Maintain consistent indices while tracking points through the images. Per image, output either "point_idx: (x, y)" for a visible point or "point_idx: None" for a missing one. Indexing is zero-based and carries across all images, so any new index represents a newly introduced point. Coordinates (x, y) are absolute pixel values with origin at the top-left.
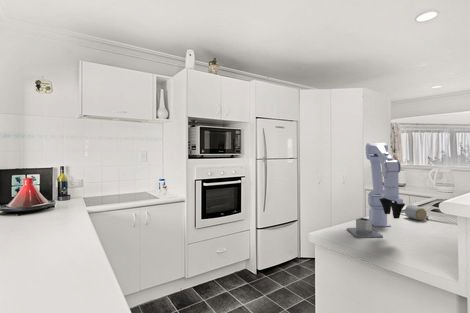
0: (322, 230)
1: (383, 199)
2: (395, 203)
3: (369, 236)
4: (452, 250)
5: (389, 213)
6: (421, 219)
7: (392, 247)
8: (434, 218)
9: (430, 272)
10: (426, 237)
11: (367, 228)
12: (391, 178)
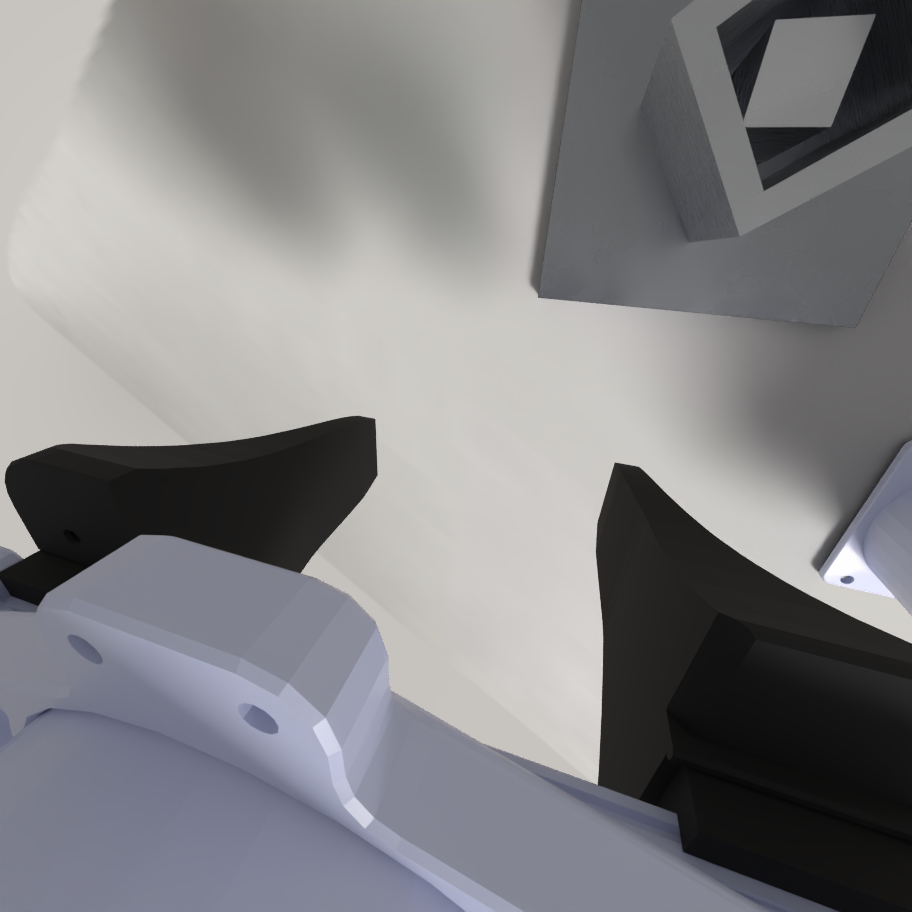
0: None
1: (736, 728)
2: (30, 527)
3: (564, 127)
4: None
5: (600, 524)
6: None
7: (312, 230)
8: None
9: (20, 224)
10: (490, 586)
11: (665, 127)
12: None
